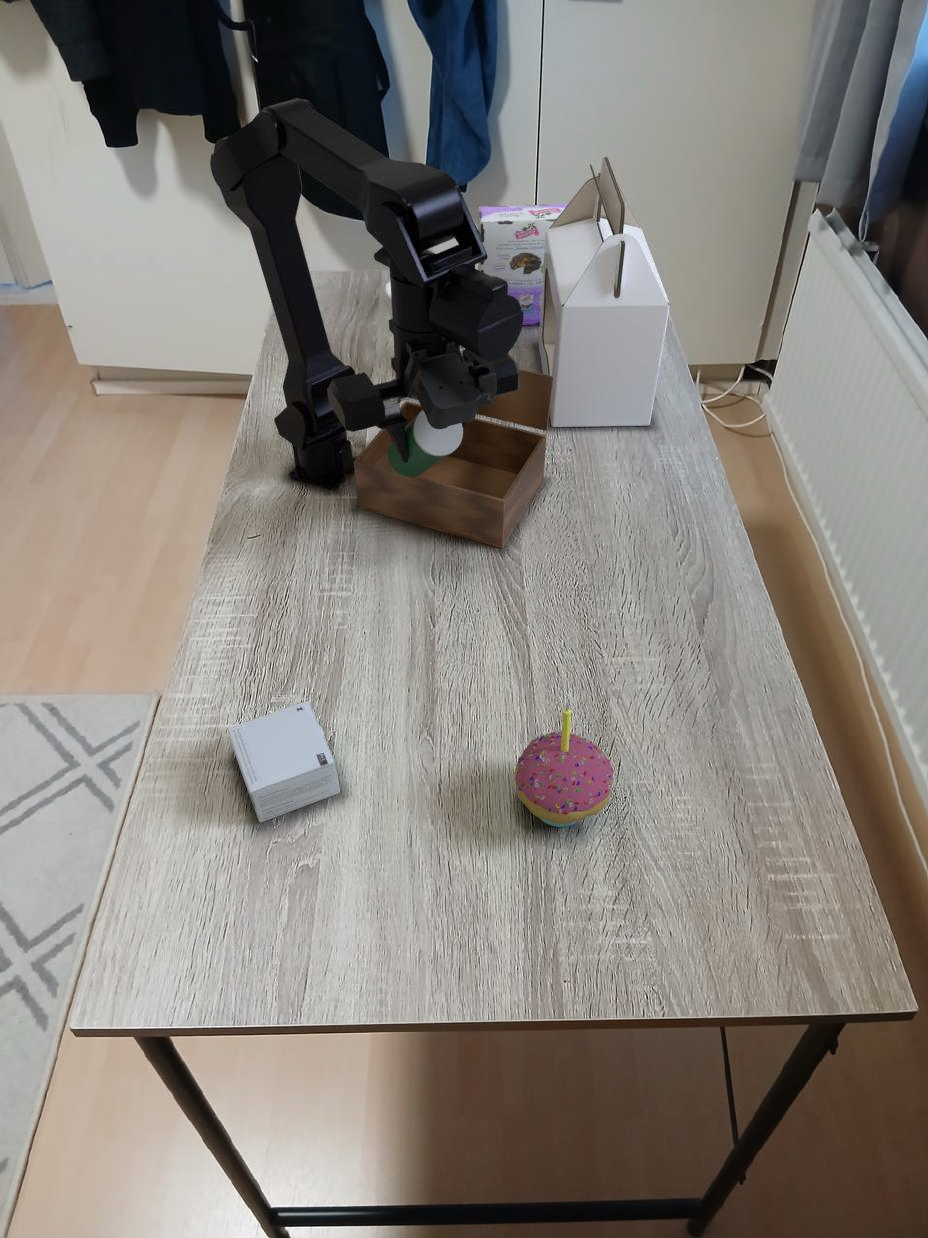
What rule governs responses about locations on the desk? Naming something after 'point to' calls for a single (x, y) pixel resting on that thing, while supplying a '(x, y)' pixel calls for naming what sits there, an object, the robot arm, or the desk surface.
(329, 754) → the small box
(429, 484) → the snack box
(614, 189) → the gable box
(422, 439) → the crisps tube
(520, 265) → the candy box
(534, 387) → the flap
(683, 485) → the desk surface
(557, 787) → the cupcake
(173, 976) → the desk surface
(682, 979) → the desk surface
